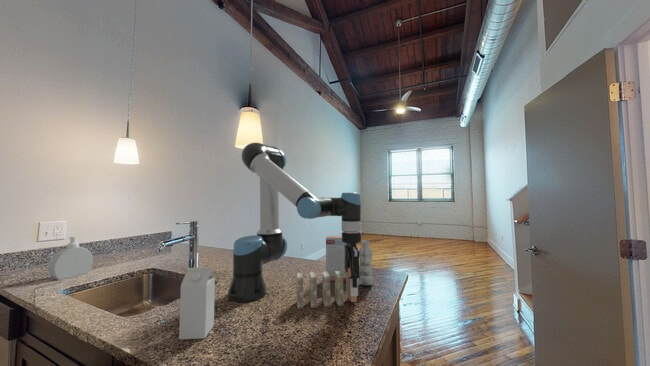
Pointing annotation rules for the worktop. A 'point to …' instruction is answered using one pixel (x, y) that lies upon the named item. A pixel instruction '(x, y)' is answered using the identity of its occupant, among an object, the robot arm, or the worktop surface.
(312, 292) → the domino
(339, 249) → the cracker box
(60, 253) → the soap bottle
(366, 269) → the plastic bottle
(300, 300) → the domino
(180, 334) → the milk carton
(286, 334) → the worktop surface
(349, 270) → the domino end
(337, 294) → the domino
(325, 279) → the domino
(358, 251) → the robot arm
